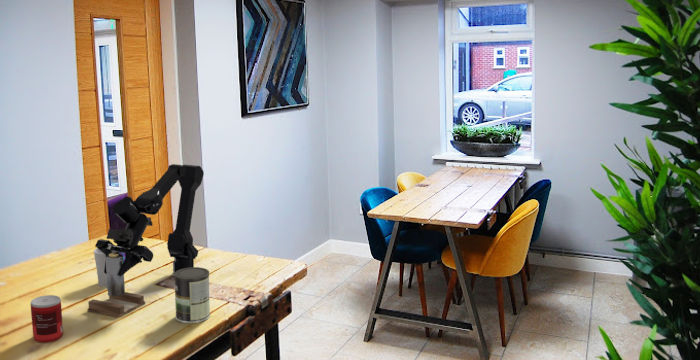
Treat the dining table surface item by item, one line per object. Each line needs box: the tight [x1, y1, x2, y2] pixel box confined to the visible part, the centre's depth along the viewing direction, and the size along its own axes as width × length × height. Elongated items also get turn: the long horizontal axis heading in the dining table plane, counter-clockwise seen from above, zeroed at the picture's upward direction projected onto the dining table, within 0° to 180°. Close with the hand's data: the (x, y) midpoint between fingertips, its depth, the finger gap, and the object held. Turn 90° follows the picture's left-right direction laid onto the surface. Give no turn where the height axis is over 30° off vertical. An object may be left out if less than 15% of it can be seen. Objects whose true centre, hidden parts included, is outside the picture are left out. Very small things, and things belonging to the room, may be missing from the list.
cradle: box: [87, 291, 146, 318], centre depth 208 cm, size 12×12×3 cm
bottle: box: [106, 252, 126, 297], centre depth 206 cm, size 5×5×13 cm
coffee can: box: [173, 266, 211, 324], centre depth 201 cm, size 10×10×14 cm
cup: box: [93, 247, 108, 288], centre depth 227 cm, size 8×8×12 cm
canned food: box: [30, 294, 64, 344], centre depth 185 cm, size 8×8×11 cm
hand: (112, 274), depth 205 cm, fingers closed on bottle, 5 cm apart
